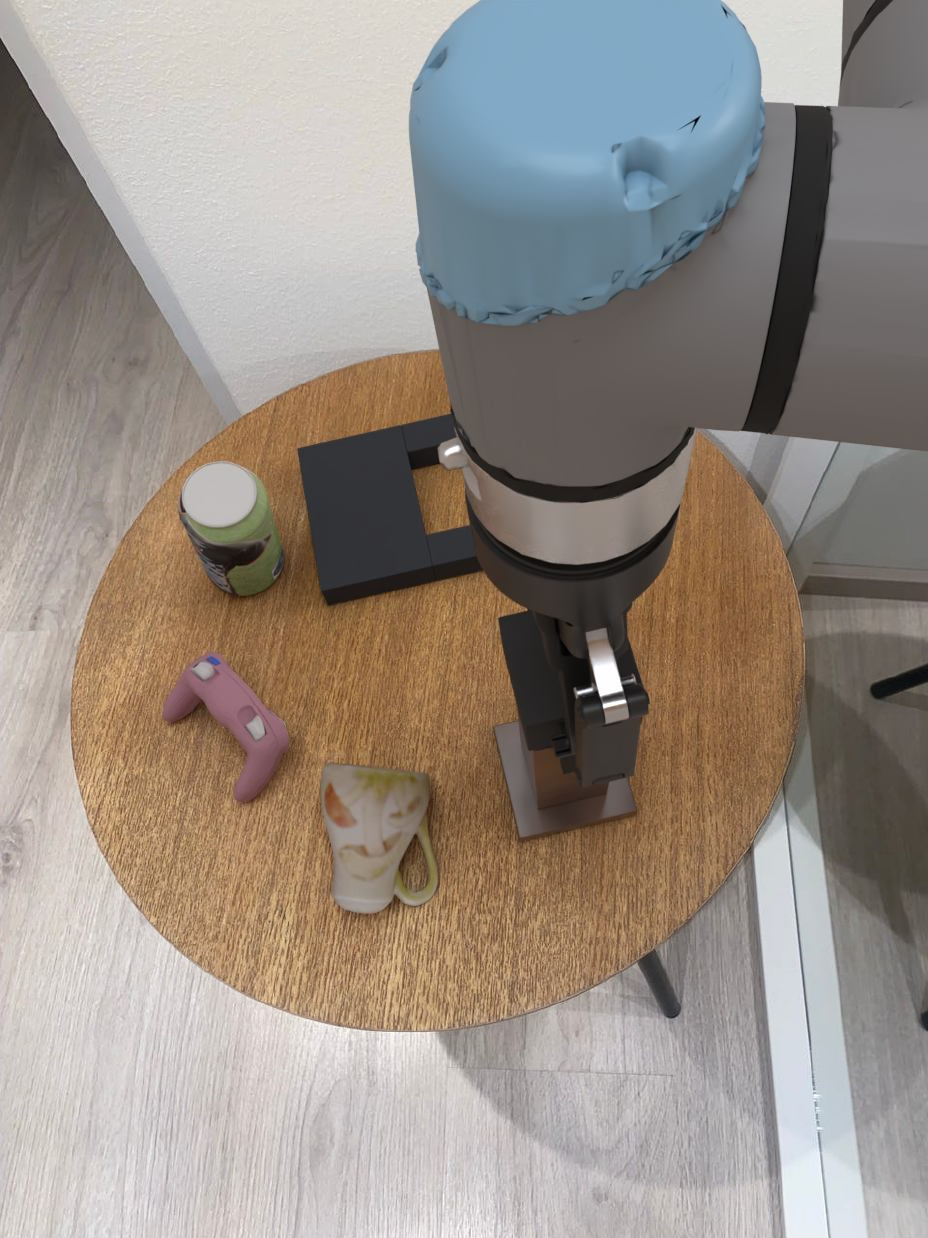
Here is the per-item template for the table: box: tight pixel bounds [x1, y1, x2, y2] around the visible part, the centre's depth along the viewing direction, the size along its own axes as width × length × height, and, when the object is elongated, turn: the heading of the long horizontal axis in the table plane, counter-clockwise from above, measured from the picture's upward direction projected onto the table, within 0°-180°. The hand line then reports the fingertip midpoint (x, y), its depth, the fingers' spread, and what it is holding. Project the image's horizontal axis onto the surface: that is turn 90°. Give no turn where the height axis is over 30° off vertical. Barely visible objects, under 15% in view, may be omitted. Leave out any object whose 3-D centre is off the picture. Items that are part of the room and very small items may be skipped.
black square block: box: [497, 610, 645, 751], centre depth 50 cm, size 6×6×4 cm
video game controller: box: [161, 650, 291, 804], centre depth 67 cm, size 10×5×7 cm, turn 44°
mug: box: [319, 762, 440, 914], centre depth 63 cm, size 8×10×10 cm
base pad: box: [296, 413, 483, 606], centre depth 75 cm, size 16×13×2 cm
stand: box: [492, 707, 638, 842], centre depth 60 cm, size 8×8×14 cm
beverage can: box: [177, 460, 285, 596], centre depth 70 cm, size 6×7×12 cm
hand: (570, 705), depth 54 cm, fingers closed on black square block, 6 cm apart
